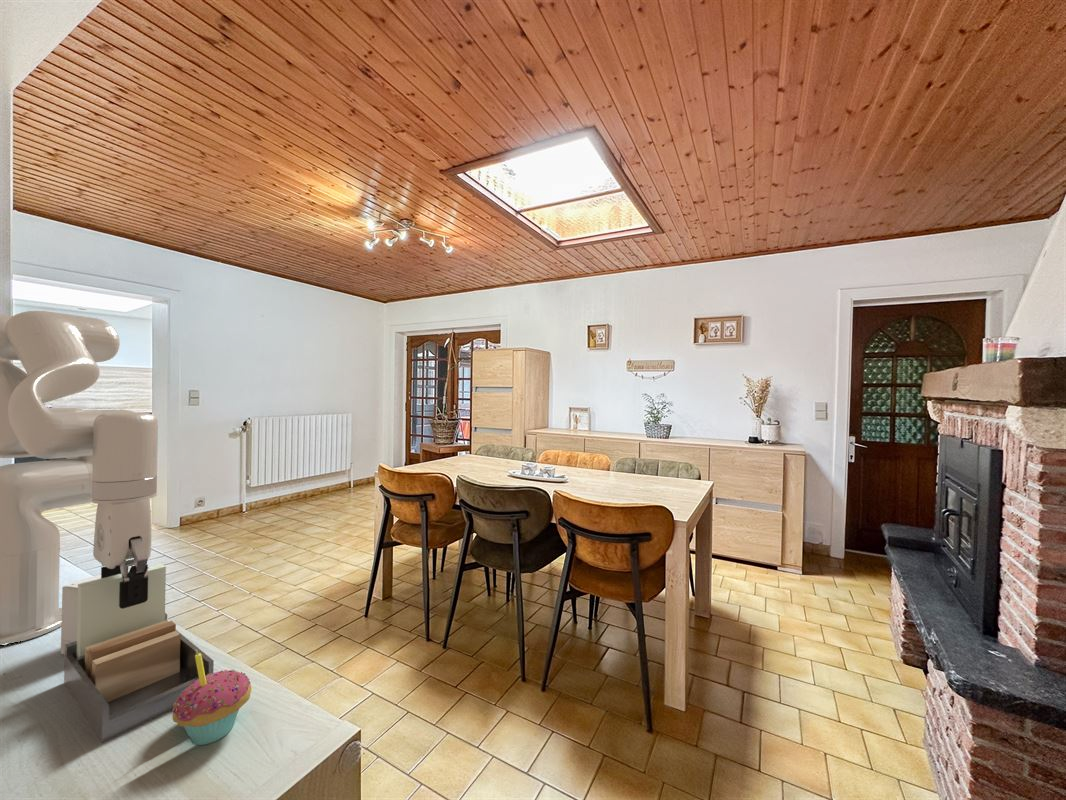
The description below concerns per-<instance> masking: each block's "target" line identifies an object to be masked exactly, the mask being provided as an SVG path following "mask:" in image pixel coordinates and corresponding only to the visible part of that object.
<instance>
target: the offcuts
mask: <svg viewBox="0 0 1066 800" xmlns="http://www.w3.org/2000/svg"><path fill="white" fill-rule="evenodd" d="M176 626H177V624H176V623H175V622H174V621H172V620H168V619H167V620H166V621H163V622H160V623H157V624H154V625H151V626H148V627H145V628H142V629H139V630H136V631H133V632H130V633H127V634H124V635H121V636H118V637H115V638H112V639H109V640H106V641H103V642H100V643H97V644H94V645H91V646H88V647H85V673H86V674H87V676H88V677H89V678H90V680H91V681H92V682H93V684H94V685H95V687H96V688H97V689H98V691H99V692H100V693H101V695H102V696H103V698H104V699H105V700H106V702H109V701H112V700H114V699H116V698H119V697H121V696H124V695H126V694H128V693H131V692H133V691H135V690H138V689H140V688H143V687H145V686H147V685H150V684H152V683H154V682H157V681H159V680H161V679H164V678H166V677H169V676H171V675H173V674H176V673H178V672H180V632H179V631H178V630H177V628H176ZM176 630H177V631H178V632H179V633H178V632H177V631H176Z"/></svg>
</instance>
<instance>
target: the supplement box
mask: <svg viewBox="0 0 1066 800" xmlns="http://www.w3.org/2000/svg"><path fill="white" fill-rule="evenodd" d="M97 579H101V573H100V574H98V575H94V576H91V577H88V578H84V579H82V580H78V581H76V582H73V583H70V584H67V585H64V586H62V589H61V590H62V592H61V594H62V595H61V608H62V624H61V626H60V627H61V628H60V632H61V633H60V654H62V655H65V644H68V643H71V642H74V641H77V602H78V584H81V583H85V582H89V581H93V580H97Z"/></svg>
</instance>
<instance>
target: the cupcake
mask: <svg viewBox="0 0 1066 800" xmlns="http://www.w3.org/2000/svg"><path fill="white" fill-rule="evenodd" d="M195 651H196V655H195V659H196V665H197V670H198V675H199V679H198V680H196V681H194V682H193V683H191V684H190V685H188V686H189V687H187V688H186V689H185V690H184V691H182V692H181V694H180V696H179V697H178V698H177V700H176V701H175V703H174V705H173V706H174V707H173V709H172V715H171V717H172V721H173V722H174V723H176V724H178V725H179V726H180V727H183V728H184V729H185V732H186V734H187V736H189V738H188V739H189V742H191V744H193V745H195V746H197V745H198V746H203V745H208V744H212V743H215V742H217V741H218V740H220V739H222V738H223V737H225V736H227V735H228V734H229V733H230V732H231V731H232V729H233V728H234V725H235V721H236V719H237V716H238V713H239V712H240V709H241V708H242V707H243V706H244V705H245V704H246V703H247V702H248V701H249V699H250V698H251V692H252V683H251V682H250V678H249V677H248V676H247V675H246V673H245V672H244V673H243V672H242V671H240V672H239V671H236V670H235V669H231V670H228V669H223V670H220V671H216V672H213V673H211V674H207V675H206V676H205V672H204V667H203V661H202V656H201V653H199V654H198V651H197V650H195Z"/></svg>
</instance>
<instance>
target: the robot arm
mask: <svg viewBox="0 0 1066 800" xmlns="http://www.w3.org/2000/svg"><path fill="white" fill-rule="evenodd" d="M120 341H121V340H120V337H119V334H118V332H117V330H116V329H115V328H114V326H112V324H111V323H109V322H108V321H106V320H104V319H101V318H98V317H90V316H82V315H75V314H69V313H61V312H53V311H46V310H29V311H28V310H27V311H22V312H19V313H16V314H15V315H5V314H0V459H17V458H18V459H19V458H29V457H30V458H31V457H34V458H38V459H45V460H40V461H39V460H38V461H27V462H18V463H9V464H5V465H0V645H2V644H5V643H13V642H18V643H21V642H24V641H28V640H32V639H34V638H38V637H40V636H42V635H46V634H48V633H50V632H53V631H55V630H56V629H57V630H58V629H59V627H61V624H62V607H60V564H61V562H60V561H61V560H60V559H61V558H60V557H61V556H60V555H61V554H60V553H61V542H60V541H61V535H60V530H59V528H58V527H57V525H55V524H54V523H53V522H52V521H50V520H49V519H47V518H46V517H44V516H43V515H42V512H43V513H44V512H45V511H50V510H54V509H59V508H65V507H72V506H78V505H85V504H89V503H92V504H96V505H97V506H96V511H95V512H96V513H95V514H96V515H95V523H94V534H93V535H94V537H93V550H92V555H93V558H94V559H95V560H96V561H97V562H99V563H100V564H101V566H102V567H101V568H100V569H101V570H100V574H101V579H102V578H106V577H110V576H114V575H118V574H121V575H122V580H123V581H122V582H120V587H119V607H120V608H121V609H124V608H127V607H130V606H134V605H137V604H141V603H144V602H146V601H147V600H148V567H149V565H148V562H149V561H148V560H149V559H150V557H151V552H152V513H151V512H152V510H151V501H150V500H151V499H152V498H155V497H157V494H158V493H157V492H158V488H157V487H158V445H159V444H158V443H159V442H158V440H159V439H158V438H159V432H158V431H159V424H158V423H159V422H158V418H157V416H155V415H154V414H152V413H149V412H139V411H137V412H136V411H133V410H127V409H83V408H75V407H74V408H73V407H68V408H67V407H66V408H65V407H62V408H61V407H59V408H58V407H57V408H55V407H54V408H52V407H51V408H50V407H47V406H45V403H49V402H52V401H56V400H59V399H63V398H66V397H69V396H72V395H76V394H78V393H81V392H84V391H85V390H88V389H89V388H91V387H92V386H93V385H95V383H96V382H97V381H98V380H99V377H100V374H101V372H100V371H101V370H100V368H99V365H98V364H97V363H103V362H107V361H110V360H111V359H113V358H114V357H115V356H116V355H117V354H118V352H119V350H120ZM11 361H20V363H21V364H22V366H23V368H24V370H23V369H22V368H20V367H18V366H16V365H15V364H13V363H12V362H11ZM64 458H65V459H64ZM47 459H48V460H47ZM129 567H130V568H129ZM128 572H129V573H128ZM20 641H21V642H20Z"/></svg>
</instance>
